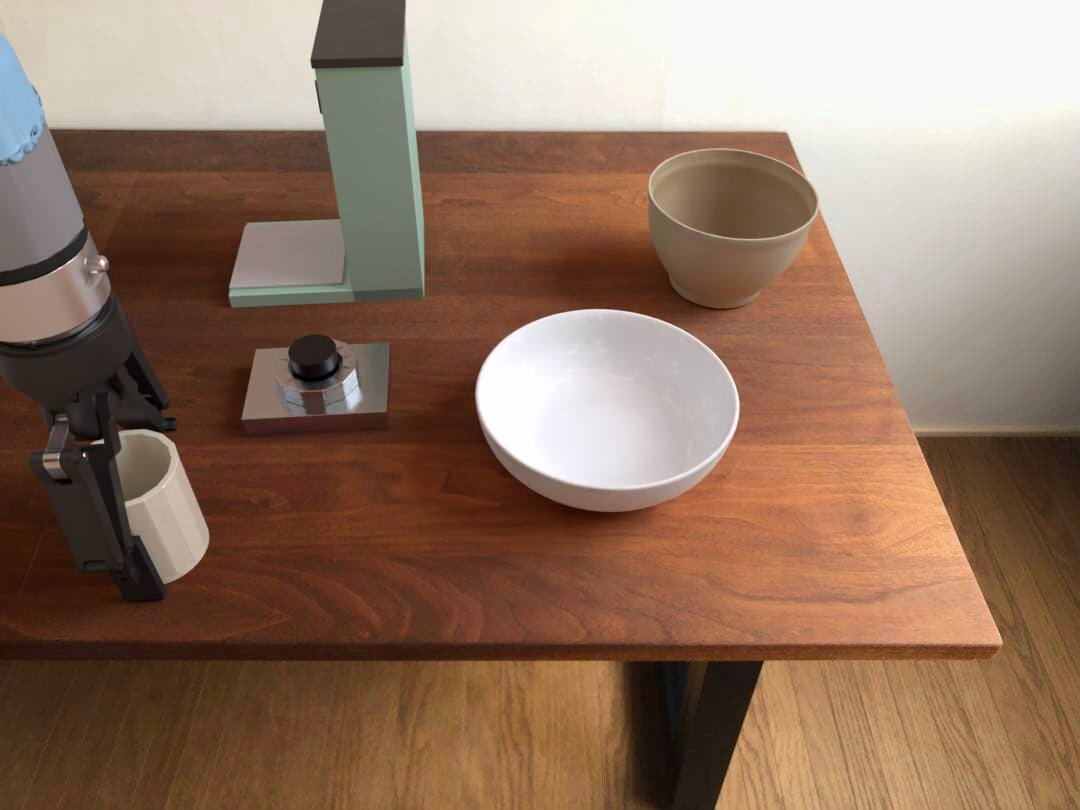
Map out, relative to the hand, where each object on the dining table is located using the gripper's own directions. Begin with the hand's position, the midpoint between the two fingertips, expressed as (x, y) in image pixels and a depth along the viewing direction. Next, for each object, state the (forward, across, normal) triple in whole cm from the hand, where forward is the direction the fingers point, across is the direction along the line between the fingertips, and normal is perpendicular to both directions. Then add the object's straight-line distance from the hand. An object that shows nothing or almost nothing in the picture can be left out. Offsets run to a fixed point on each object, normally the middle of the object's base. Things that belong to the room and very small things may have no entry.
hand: (159, 543), depth 68 cm
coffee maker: (0, +35, -11) cm, 37 cm away
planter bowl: (+1, +29, -50) cm, 58 cm away
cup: (0, 0, 0) cm, 0 cm away
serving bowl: (+1, +7, -35) cm, 36 cm away
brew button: (-3, +15, -11) cm, 19 cm away
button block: (0, +15, -11) cm, 19 cm away
